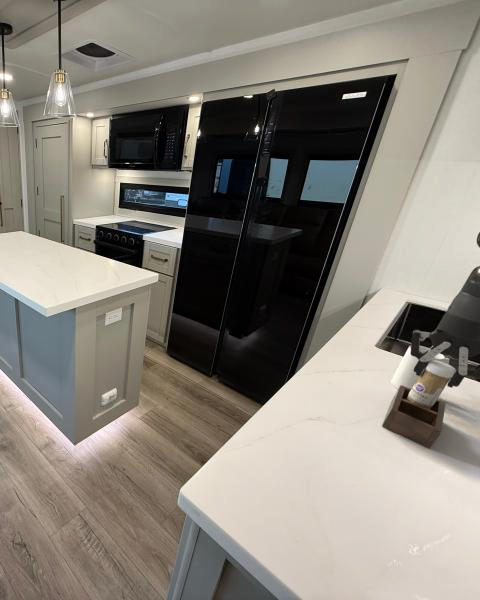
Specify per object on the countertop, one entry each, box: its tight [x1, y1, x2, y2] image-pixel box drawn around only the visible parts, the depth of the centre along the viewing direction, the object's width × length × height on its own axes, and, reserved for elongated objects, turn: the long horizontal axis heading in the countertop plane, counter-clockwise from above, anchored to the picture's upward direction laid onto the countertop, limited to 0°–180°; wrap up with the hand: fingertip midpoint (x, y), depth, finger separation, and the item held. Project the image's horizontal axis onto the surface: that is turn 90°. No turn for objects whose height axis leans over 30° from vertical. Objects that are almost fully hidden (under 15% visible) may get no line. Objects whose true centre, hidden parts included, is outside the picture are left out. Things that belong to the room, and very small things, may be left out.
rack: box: [381, 385, 446, 449], centre depth 74 cm, size 8×15×5 cm, turn 130°
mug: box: [390, 345, 451, 390], centre depth 84 cm, size 10×7×12 cm, turn 78°
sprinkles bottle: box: [406, 360, 457, 410], centre depth 73 cm, size 5×5×14 cm
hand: (433, 379), depth 72 cm, fingers closed on sprinkles bottle, 4 cm apart
